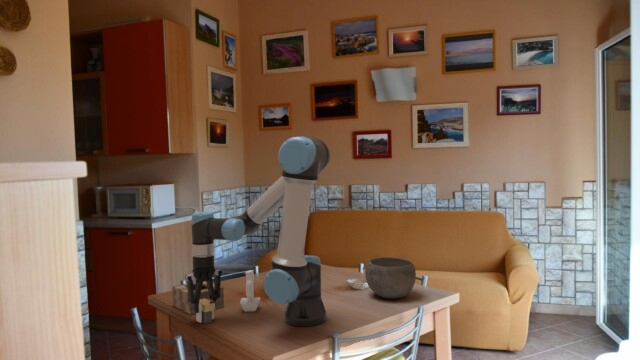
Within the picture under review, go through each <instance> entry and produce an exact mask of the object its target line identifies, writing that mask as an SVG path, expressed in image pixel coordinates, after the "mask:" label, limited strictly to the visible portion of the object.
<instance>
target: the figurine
mask: <svg viewBox="0 0 640 360" xmlns="http://www.w3.org/2000/svg"><path fill="white" fill-rule="evenodd" d="M245 276H246V278H245V279H246V281H245V282H246V283H245V296H246V297H241V299H240V302H239V305H240V307H241V308H242V311H243V312H245V313H247V312H256V311H257V309H258V306H259V304H260V300H261V297H259V296H258V297H254V295H255V294H254V282H255V279H254V278H255V276H254V270H253V269H251V270H250V269H249V270H247V271H245Z"/></svg>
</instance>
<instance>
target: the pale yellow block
mask: <svg viewBox="0 0 640 360" xmlns="http://www.w3.org/2000/svg"><path fill="white" fill-rule="evenodd" d="M199 303H200V304H201V311H203V312H209V311H213V310H214V311H215V310H216V309H215V303H214V302H212V301H210V300H207V299H205V298H204V299H200V301H199Z"/></svg>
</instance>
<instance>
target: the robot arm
mask: <svg viewBox="0 0 640 360" xmlns="http://www.w3.org/2000/svg"><path fill="white" fill-rule="evenodd" d="M277 158H278V164H279V165H280V167H281V169H282V172H281V176H280V177H279V178H278V179H277V180H275V182H274V183H273V184H272V185H270V186H269V188H268V189H267V190H266V191H265V192H264V193H262V194H261V195H260V196H259V197H258V198H257V199H256V200H255V201H254V202H253V203H252V204H250V205H249V207H248V208H247V209H246V210H244V212H243V213H242V214H240V215H238V216H237V215H236V216H230V217H227V218H226V217H225V218H223V217H222V218H221V217H220V218H217V217H214V213H213V212H212V211H197V212H194V213H192V215H191V223H190V226H191V238H192V241H191V243H192V245H191V246H192V247H191V248H192V249H191V250H192V268H193V269H192V271H191V273H190V274H187V275H185V276H184V279H185V281H186V284H187V290H188V302H190V303H192V304H194V313H196V314H195V317H196V318H195V319H196V322H198V323H203V322H202V311H201V304H200V303H199V301H200V294H201V288H202V285H203V282H204V281H206V283H207V288H208V292H209V296H210V299H211V300H210V301H212V302H214V303H215V301H216V300H217V298H220V286H221V277H222V274H223V270H220V269H216V267H215V255H214V254H215V242H214V241H215V240H219V241H221V240H222V241H223V240H224V241H229V242H231V241H239V240H241V239H242V238H243V237H244V236H248V235H252V234H254V233H257V232H258V231H259V230H260V229H261V225H262V224H263V222H265V221H266V220H267V219H268V218H269V217H270V216H271V215H273V214H274V212H275V211H277V210H278V209H279V208H280V207H281V206H282V213H281V221H280V228H279V238H278V245H277V254H276V255H274V256H273V257H272V259H271V265H270V266H271V267H270V270H269V271H268V272H267V273H266V275H265V276H264V278H263V283H262V284H263V290H264V292H265V294H266V295H267V297H268V298H269V299H270V301H272V302H274V303H276V304H278V305H286V307H285V312H284V315H283V317H284V318H283V319H284V320H283V321H284V322H285V323H286V324H288V325H290V326H295V327H313V326H316V325H321V324H323V323H325V322H326V320H327V310H326V308H325V305H324V301H323V298H322V271H321V270H322V264H321V259H320V256H317V255H308V254H304V253H305V247H306V238H307V237H306V236H307V229H308V222H309V221H308V220H309V214H310V206H311V198H312V197H311V196H312V188H313V185H314V184H316V183H317V182H318V179H319V175H320V174H321V173H323V171H324V170H325V169H326V168H327V167H328V165H329V164H330V161H331V151H330V147H328V145H327V144H326V142H325V141H323V140H321V139H319V138H315V137H307V136H293V137H290V138H288V139H286V140H285V141H284V142H283V143H282V145H281V146H280V148H279V151H278V156H277ZM213 275H214V281H213ZM194 278H195V281H193V280H194ZM193 282H195V283H196V286H195V292H194V287H193ZM213 283H214V287H213ZM215 308H216V304H215ZM214 312H215V310H213V311H211V320H214V319H215V318H214V317H215V315H214V314H215V313H214Z"/></svg>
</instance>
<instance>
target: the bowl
mask: <svg viewBox="0 0 640 360" xmlns="http://www.w3.org/2000/svg"><path fill="white" fill-rule="evenodd" d="M364 272H365V273H364V276H365V280H366V283H367V285H368V287H369V288H370V290H371V291H372V292H374V293H375V294H376V295H378V296H380V297H381V298H384V299H389V300H397V299H398V300H399V299H402V298H403V297H406V296H407V295H408V294H410V292H412V290H413V288H414V286H415V283H416V280H417V277H416V276H417V275H416V274H417V273H416V267H415V265H414V263H413V261H411V260H408V259H405V258H400V257H393V256H383V257H382V256H381V257H374V258H370V259H369V260H368V262H367V264H366V265H365V271H364Z"/></svg>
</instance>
